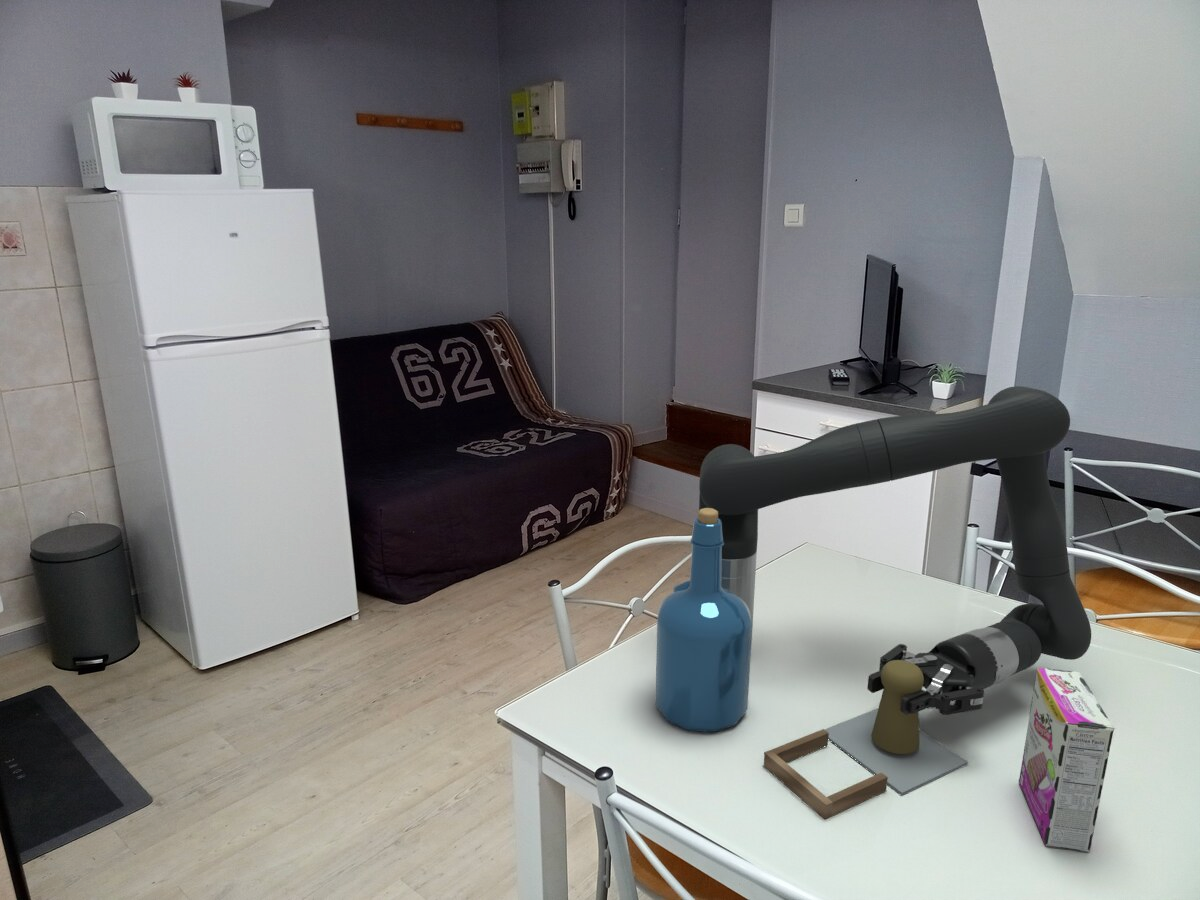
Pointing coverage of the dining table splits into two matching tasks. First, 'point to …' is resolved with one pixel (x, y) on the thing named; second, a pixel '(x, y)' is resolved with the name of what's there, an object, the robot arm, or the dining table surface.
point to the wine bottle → (703, 641)
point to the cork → (897, 708)
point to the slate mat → (894, 755)
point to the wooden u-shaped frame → (805, 790)
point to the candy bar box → (1065, 758)
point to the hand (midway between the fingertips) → (886, 695)
